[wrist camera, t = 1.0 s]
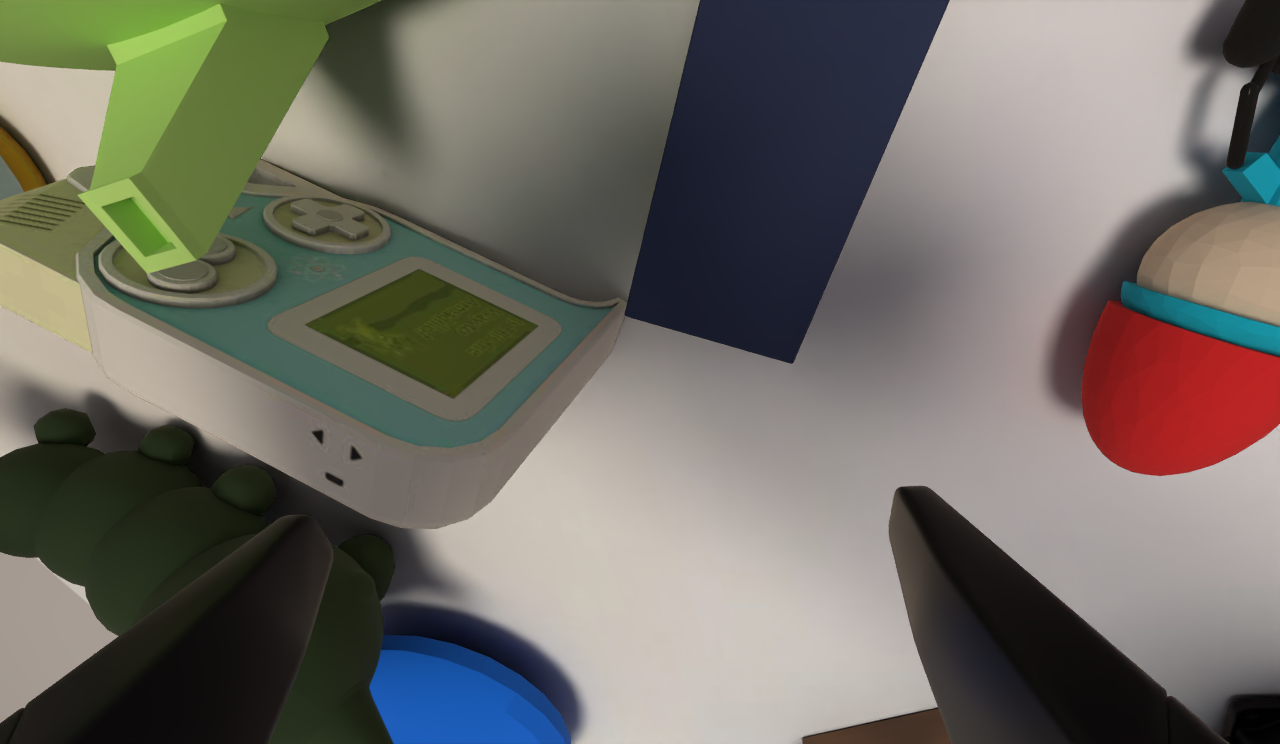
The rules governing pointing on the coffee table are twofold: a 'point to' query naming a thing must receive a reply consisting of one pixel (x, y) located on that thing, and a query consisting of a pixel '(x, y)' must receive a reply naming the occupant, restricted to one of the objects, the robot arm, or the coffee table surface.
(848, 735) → the sharpening stone holder
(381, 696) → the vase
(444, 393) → the handheld gaming console
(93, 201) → the teapot
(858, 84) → the dark blue rectangular block
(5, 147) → the bottle
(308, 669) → the green caterpillar figure
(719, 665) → the coffee table surface
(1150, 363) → the toy figure
